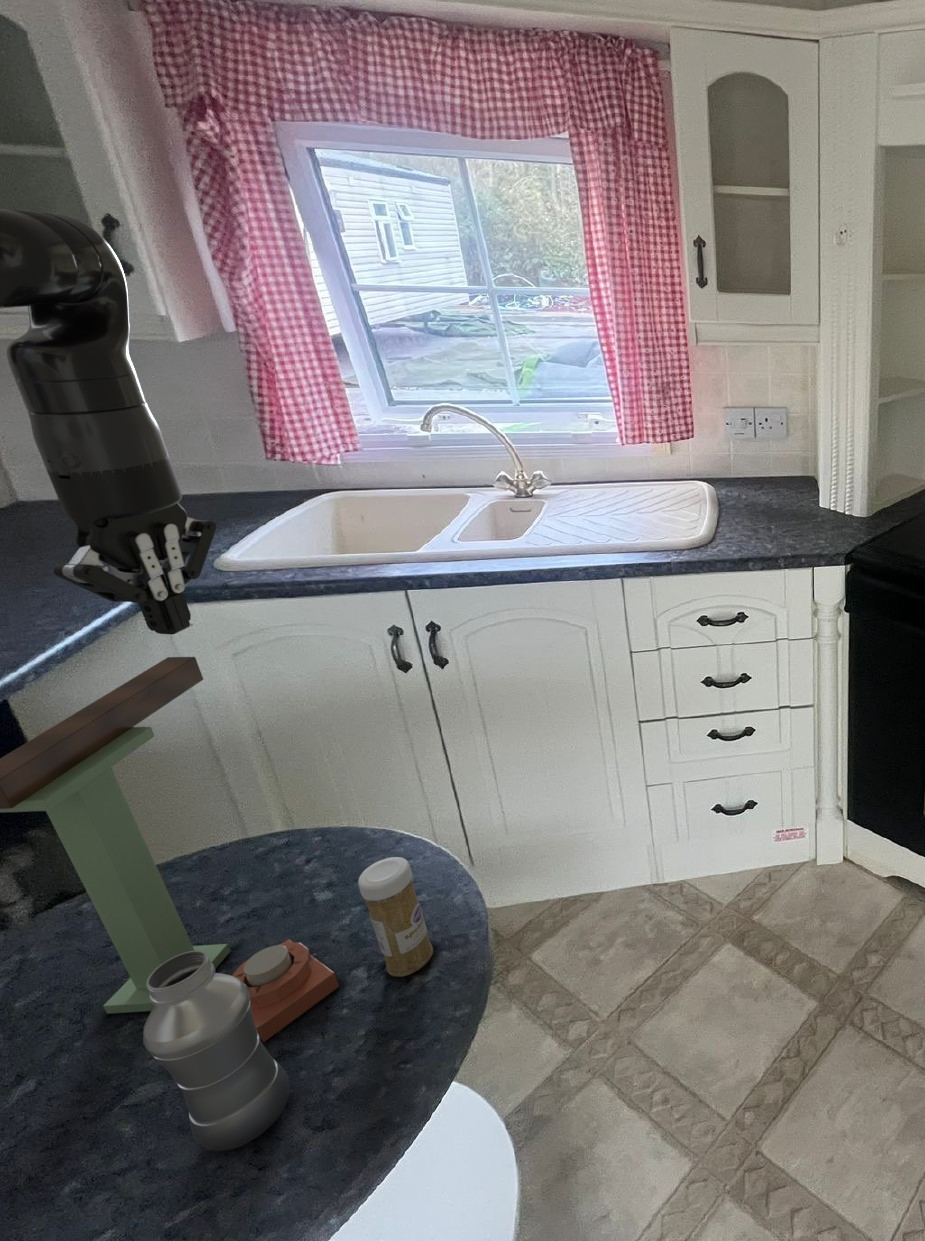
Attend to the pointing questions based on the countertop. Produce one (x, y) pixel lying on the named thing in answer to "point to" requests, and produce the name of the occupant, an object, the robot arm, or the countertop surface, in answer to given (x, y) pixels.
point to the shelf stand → (117, 867)
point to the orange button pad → (289, 991)
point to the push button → (267, 965)
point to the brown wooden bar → (92, 728)
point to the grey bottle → (213, 1051)
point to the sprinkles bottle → (396, 915)
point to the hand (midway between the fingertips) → (172, 630)
